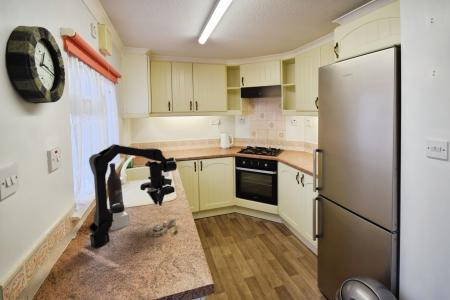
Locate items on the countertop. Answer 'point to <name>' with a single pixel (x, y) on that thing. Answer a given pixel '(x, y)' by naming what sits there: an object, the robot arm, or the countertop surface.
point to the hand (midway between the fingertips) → (158, 205)
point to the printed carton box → (119, 216)
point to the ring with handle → (162, 227)
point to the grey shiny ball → (157, 228)
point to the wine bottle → (114, 187)
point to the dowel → (176, 228)
